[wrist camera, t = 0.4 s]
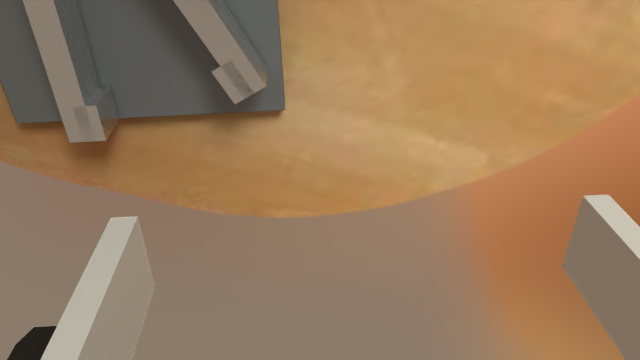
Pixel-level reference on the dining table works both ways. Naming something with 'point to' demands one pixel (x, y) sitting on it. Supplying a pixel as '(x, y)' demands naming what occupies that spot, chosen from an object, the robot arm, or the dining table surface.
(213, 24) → the tongs jaw
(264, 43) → the board
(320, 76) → the dining table surface
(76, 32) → the tongs fixed
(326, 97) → the dining table surface
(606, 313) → the robot arm
